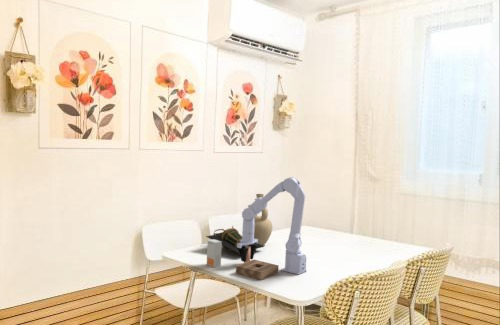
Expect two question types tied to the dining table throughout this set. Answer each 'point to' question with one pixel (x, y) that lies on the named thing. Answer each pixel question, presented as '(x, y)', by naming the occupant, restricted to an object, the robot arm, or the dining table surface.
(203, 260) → the dining table surface
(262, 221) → the vase
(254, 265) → the socket block
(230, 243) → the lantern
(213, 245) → the skincare box
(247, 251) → the peg
